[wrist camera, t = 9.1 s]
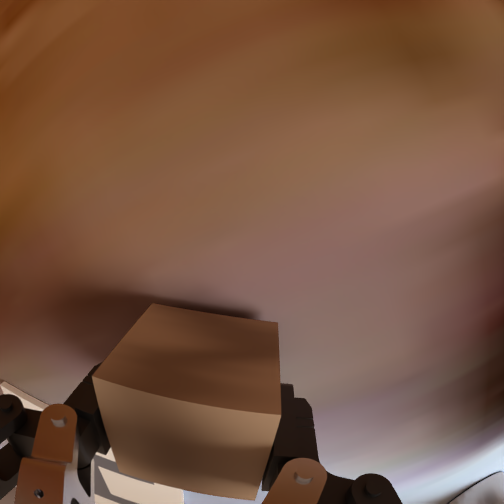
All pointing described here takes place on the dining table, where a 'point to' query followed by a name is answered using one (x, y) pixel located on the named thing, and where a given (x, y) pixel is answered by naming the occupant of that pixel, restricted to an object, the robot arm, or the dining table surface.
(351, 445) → the dining table surface
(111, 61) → the dining table surface
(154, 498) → the letter card
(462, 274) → the dining table surface
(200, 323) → the walnut block
